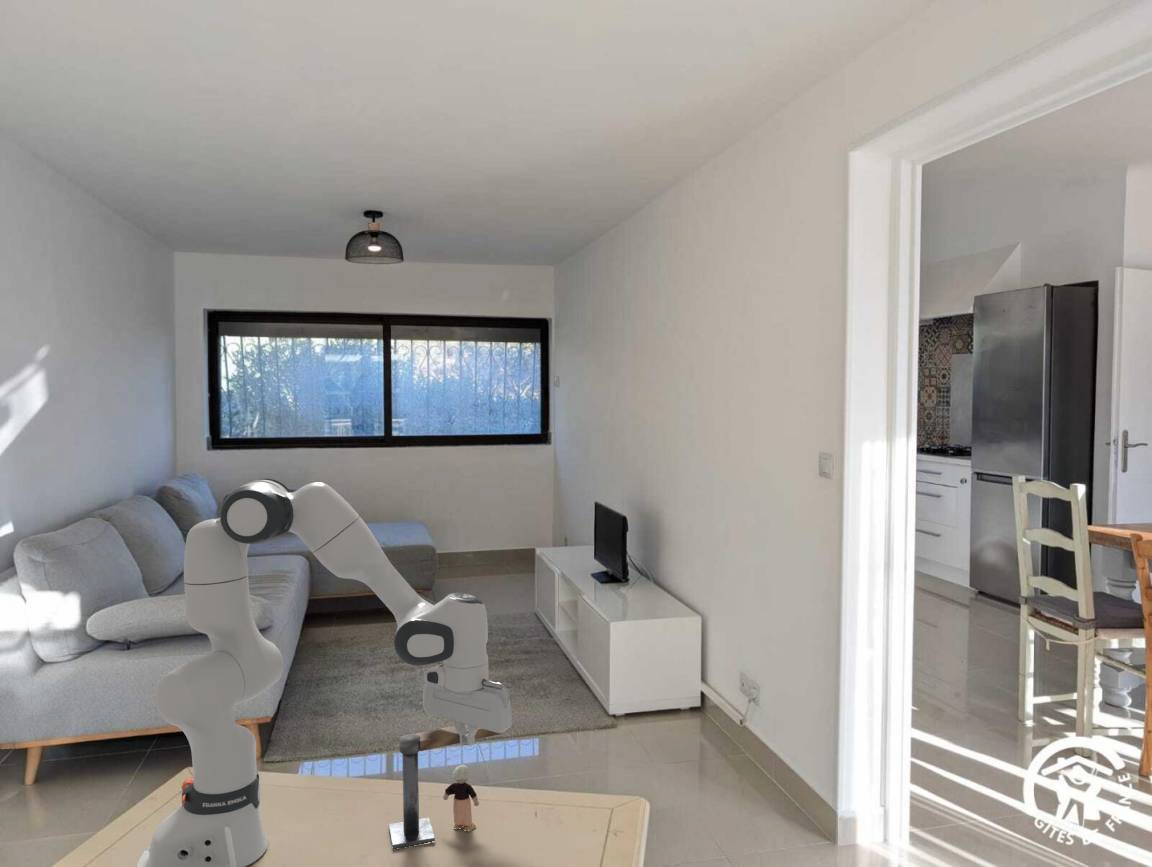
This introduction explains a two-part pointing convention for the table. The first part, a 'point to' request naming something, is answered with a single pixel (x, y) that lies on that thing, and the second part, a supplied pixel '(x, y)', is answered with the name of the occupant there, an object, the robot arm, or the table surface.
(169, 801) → the table surface
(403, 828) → the arm post
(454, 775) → the grandmother figurine
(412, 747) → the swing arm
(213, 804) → the robot arm
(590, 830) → the table surface
